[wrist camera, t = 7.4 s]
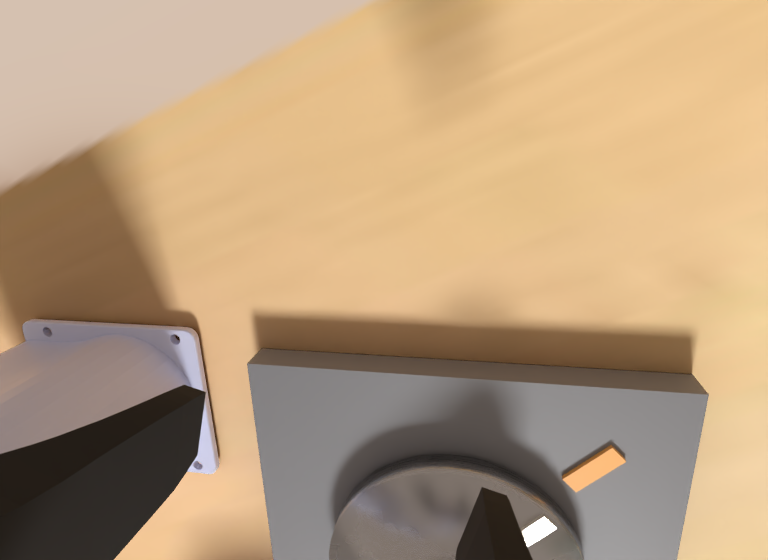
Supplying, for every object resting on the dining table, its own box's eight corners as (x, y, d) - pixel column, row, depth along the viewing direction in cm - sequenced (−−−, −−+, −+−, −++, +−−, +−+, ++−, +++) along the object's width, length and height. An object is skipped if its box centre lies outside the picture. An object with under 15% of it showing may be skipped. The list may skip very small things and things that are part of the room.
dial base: (296, 632, 28) (285, 663, 27) (262, 348, 23) (244, 365, 21) (635, 693, 25) (645, 733, 23) (692, 374, 19) (711, 397, 17)
